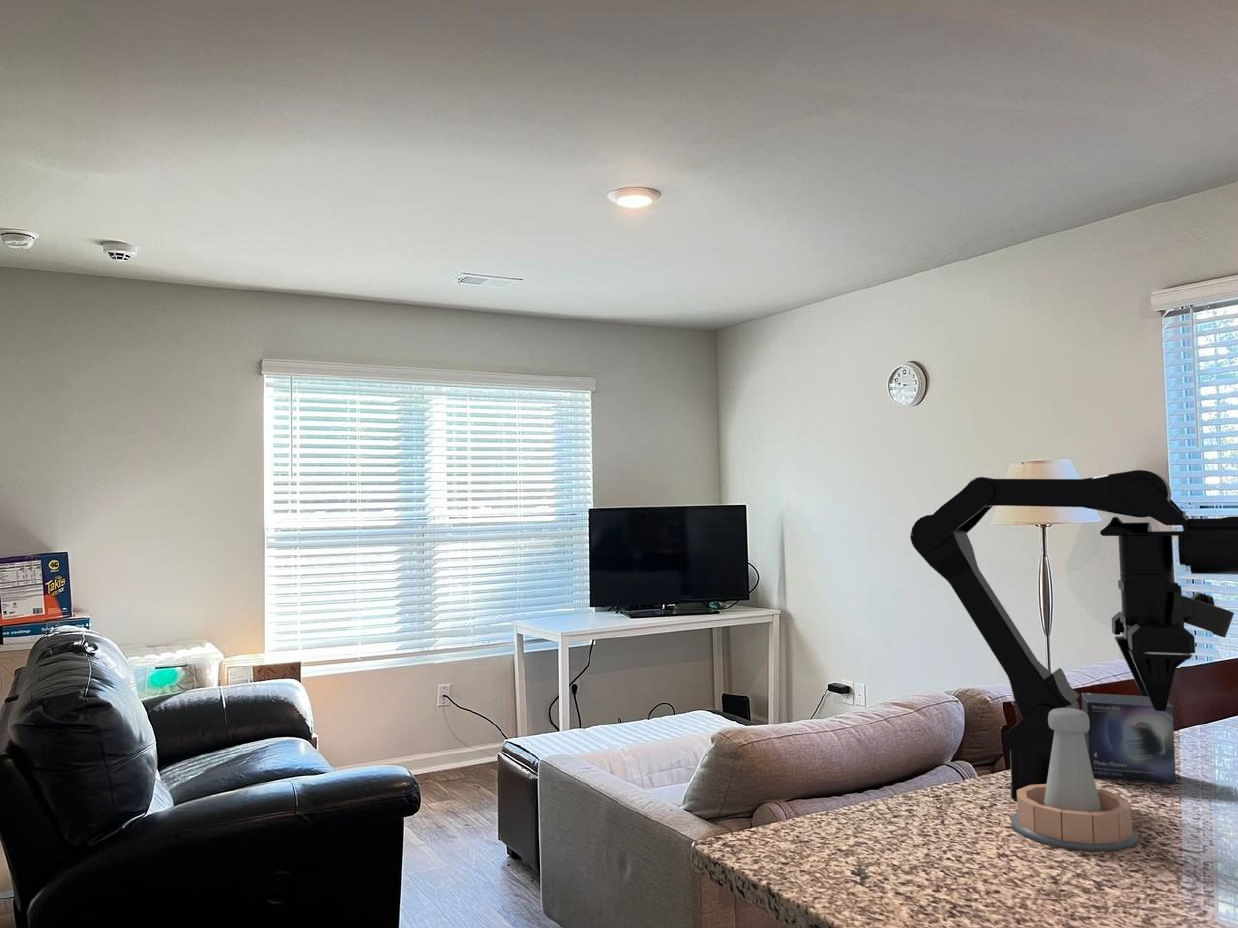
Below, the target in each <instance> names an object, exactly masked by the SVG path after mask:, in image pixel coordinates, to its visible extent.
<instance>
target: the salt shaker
mask: <svg viewBox="0 0 1238 928" xmlns="http://www.w3.org/2000/svg"><path fill="white" fill-rule="evenodd" d="M1089 723H1090V721H1089V717H1088V715H1087V714H1086V713H1085V712H1084V711H1082V709H1080V710H1079V709H1074V708H1056V709H1052V710H1051V711H1050V712H1049V716H1048V724H1049V727H1050V728H1051V729H1053V730H1054V738H1053V744H1052V751H1051V758H1050V765H1049V771H1048V778H1047V785H1046V792H1045V798H1044V803H1045V806H1049V807H1053V808H1057V809H1061V810H1070V811H1081V812H1100V801H1099V797H1098V793H1097V789H1098V788H1097V786H1096V782H1095V777H1094V776H1093V772H1092V768H1091V763H1090V759H1089V754H1088V750H1087V745H1086V741H1085V736H1084V733H1085V732H1088V731H1089Z"/></svg>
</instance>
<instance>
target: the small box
mask: <svg viewBox="0 0 1238 928" xmlns="http://www.w3.org/2000/svg"><path fill="white" fill-rule="evenodd" d="M1080 695H1081V710H1082V711H1084V712H1085V713H1086V714H1087V715H1088V717H1089V721H1090V723H1089V731H1088V732H1085V733H1084V736H1085V741H1086V745H1087V750H1088V754H1089V759H1090V763H1091V768H1092V772H1093V776H1094V778H1098V779H1099V778H1100V779H1110V780H1111V779H1112V780H1121V781H1122V780H1123V781H1124V780H1125V781H1135V782H1145V783H1146V782H1148V783H1158V784H1169V785H1170V784H1171V785H1176V784H1177V779H1176V778H1177V777H1176V757H1175V756H1176V754H1175V753H1176V751H1175V731H1174V730H1175V729H1174V707H1173V705H1172V704H1171V703H1170V702H1169V701H1168V703H1167V708H1166V711H1156V710H1155V709H1154V707H1153V705H1152V703H1151V701H1150V698H1149V697H1147V696H1142V695H1131V694H1130V695H1129V694H1111V693H1110V694H1109V693H1094V692H1093V693H1092V692H1081V694H1080Z"/></svg>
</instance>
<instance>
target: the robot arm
mask: <svg viewBox="0 0 1238 928" xmlns="http://www.w3.org/2000/svg"><path fill="white" fill-rule="evenodd" d="M995 506H996V507H997V506H1004V507H1005V506H1008V507H1010V506H1011V507H1051V508H1053V507H1056V508H1059V507H1060V508H1063V507H1064V508H1085V509H1091V510H1096V511H1101V512H1106V513H1110V514H1111V513H1112V514H1117V515H1123V516H1128V517H1133V518H1140V519H1141V518H1151V519H1153V520H1155V521H1157V522H1159V523H1161V524H1163V525H1165V526H1181V527H1182V530H1152V526H1151V522H1149V521H1148V522H1145V521H1144V522H1124V521H1122V519H1120V518H1119V517H1118V516H1113V517H1112V518H1111V521H1110V522H1109V523H1108V524H1107V525H1106V526H1105V527H1104V528H1103V529H1101V530H1100V531H1099V534H1100V535H1101V536H1103V537H1117V539H1118V552H1119V553H1118V555H1119V557H1118V558H1119V570H1120V571H1119V578H1120V579H1119V580H1118V581H1117V586H1118V589H1120V598H1121V611H1118V612H1117V613H1116V614H1115V615H1114V616H1113V617H1111V632H1112V634H1114V635H1115V636H1114V641H1115V642H1116V645H1118V648H1119V649H1120V652H1121V654H1122V656H1123V658H1124V660H1125V663H1126V665H1127V667H1128V668H1129V670H1130V673H1131V675H1132V677H1133V679H1134V681H1135V683H1136V685H1137V688H1138V690H1139V692H1140V695H1141V696H1147V697H1149V698H1150V701H1151V703H1152V705H1153V707H1154V709H1155V710H1156V711H1166V708H1167V703H1168V702H1169V700H1170V698H1169V697H1170V694H1171V689H1172V686H1173V682H1174V677H1175V673H1176V669H1177V668H1178V667H1179V666H1180V665H1182V664H1183V663H1184V662H1186V661H1187V660H1190V659H1191V658H1192V657H1193V654H1195V653H1196V642H1195V636H1194V635H1193V634H1192V633H1191V632H1190V631H1188V629H1186V628H1185V624H1188V625H1191V626H1193V627H1197V628H1200V629H1202V630H1205V631H1208V632H1211V633H1212V634H1213V635H1215V636H1218V637H1221V638H1226V637H1227V634H1228V633H1229V632H1228V631H1229V628H1230V626H1231V623H1232V620H1233V618H1234V615H1235V612H1234V611H1231V610H1229V609H1226V608H1223V607H1220V606H1217V605H1216V604H1215V600H1214V597H1213V596H1212V595H1211V596H1210V595H1208V594H1204V593H1201V592H1199V591H1196V592H1195V593H1194V594H1193V595H1192V596H1190V597H1189V596H1185V595H1182V586H1181V585H1179V583H1178V582H1176V581H1175V568H1174V567H1175V565H1174V548H1173V546H1174V545H1173V537H1175V536H1176V537H1177V540H1178V541H1177V542H1178V544H1177V545H1178V559H1179V560H1178V561H1179V565H1180V566H1185V567H1190V573H1191V574H1192V575H1228V576H1229V575H1230V576H1231V575H1233V576H1234V575H1237V576H1238V515H1237V516H1234V515H1233V516H1225V517H1219V518H1217V517H1216V518H1215V517H1214V518H1213V517H1212V518H1205V517H1204V518H1189V517H1188V515H1187V514H1186V513H1187V512H1186V510H1182V509H1181V508H1180V507H1179V506H1178V505H1177V504H1176V503H1175V502H1174V501H1173V500H1172V490H1171V487H1170V485H1169V483H1168V482H1167V480H1166V479H1165V478H1163V477H1162V476H1161V475H1160V474H1158V473H1155V472H1153V471H1149V470H1142V469H1134V470H1128V471H1123V472H1117V473H1116V472H1115V473H1110V474H1105V475H1099V476H1098V475H1097V476H1093V477H1087V478H1067V479H1066V478H992V477H984V476H978V477H974V478H972V479H971V480H970V481H969V482H968V483H967V485H966V486H965V487H964V488H963V489H961V490H960V491H959V492H958V493H957V494H955V495H954V496H953V497H952V498H950V499H949V500H948V501H945V503H944V504H942V505H941V506H940V507H939V508H938V509H937V510H936V511H935V512H934V513H933V514H927V515H924V516H921V517H920V518H918V520H916V521H915V522H914V524H913V526H912V527H911V531H910V532H911V533H910V535H909V538H910V543H911V544H912V546H913V548H914V549H915V551H917V553H918V554H919V555H920V556H921V558H922V559H923V560H925V562H926V563H927V564H928V566H929V567H931V568H932V570H934V571H935V572H937V574H939V575H940V577H942V578H944V580H946V581H947V583H948V584H949V585H950V587H951V588H952V590H953V591H954V593H955V594H956V596H957V597H958V599H959V601H960V602H961V604H962V606H963V607H964V609H965V610H966V612H967V613H968V615H969V617H970V619H971V621H973V623H974V625H975V627H976V628H977V629H978V631H979V633H980V635H981V636H982V638H983V639H984V641H985V642H986V644H987V646H988V647H989V648H990V650H991V652H992V653H993V655H994V656H995V658H996V660H997V662H998V663H999V665H1000V666H1001V668H1002V670H1003V671H1004V672H1005V675H1006V676H1007V678H1008V680H1009V685H1010V688H1011V689H1010V690H1011V692H1012V695H1013V700H1014V704H1015V705H1016V707H1017V710H1018V713H1019V715H1020V717H1021V719H1020V720H1019V721H1017V722H1016V723H1015V725H1013V726H1012V727H1011V728H1010V729H1009V730H1007V731H1006V733H1004V738H1005V740H1006V743H1007V746H1008V748H1009V758H1010V760H1009V761H1010V783H1009V787H1010V788H1009V789H1010V798H1011V799H1013V800H1017V790H1018V789H1021V788H1023V787H1026V786H1028V785H1037V784H1047V778H1048V771H1049V765H1050V758H1051V751H1052V744H1053V738H1054V730H1053V729H1051V728H1050V727H1049V724H1048V716H1049V712H1050V711H1051V710H1052V709H1056V708H1074V709H1079V710H1081V706H1080V705H1079V702H1078V698H1079V697H1080V695H1081V694H1079V693H1078V692H1077V691H1076V690H1074V688H1073V687H1072V686H1071V685H1070V683H1069V681H1068V679H1067V677H1066V674H1065V672H1064V671H1063V669H1062V668H1061V667H1059V668H1057V669H1055V671H1053V672H1052V671H1050V670H1049V669H1048V668H1046V667H1045V666H1044V665H1043V664H1042V663H1041V662H1040V660H1038V658H1037V657H1036V656H1035V654H1034V653H1033V651H1032V650H1031V648H1030V646H1029V645H1028V643H1027V641H1026V640H1025V639H1024V637H1023V636H1022V634H1021V632H1020V630H1019V629H1018V628H1017V626H1016V625H1015V622H1013V620H1012V618H1011V617H1010V615H1009V614H1008V612H1007V611H1006V609H1005V607H1004V606H1003V605H1002V603H1001V601H1000V599H998V596H997V595H996V593H995V592H994V590H993V588H992V587H991V586H990V584H989V582H988V581H987V580H986V578H985V577H984V574H982V571H981V570H980V568H979V567H978V562H977V560H976V554H975V552H974V551H975V550H974V548H973V545H972V542H971V540H970V538H969V536H968V535H969V534H968V533H969V532H970V531H971V530H972V529H973V528H974V527H976V526H977V525H978V523H979V522H980V521H981V520H982V518H983V517H985V515H986V514H987V513H988V512H989V511H990V510H991V509H992V508H993V507H995ZM1120 635H1121V636H1120Z"/></svg>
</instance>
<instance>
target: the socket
mask: <svg viewBox="0 0 1238 928" xmlns="http://www.w3.org/2000/svg"><path fill="white" fill-rule="evenodd" d="M1046 785H1047V784H1037V785H1028V786H1026V787H1023V788H1021V789H1018V790H1017V799H1016V804H1017V805H1016V807H1017V808H1016V809H1017V812H1015V813H1014V814H1012V816H1011V818H1010V822H1011V824H1010V825H1011V828H1012V829H1013V830H1014V831H1015V833H1018V834H1019V835H1020V836H1023V837H1025V838H1026V839H1029V840H1032V841H1035V842H1037V843H1040V844H1043V845H1048V846H1052V847H1055V848H1061V849H1068V850H1074V851H1084V852H1085V851H1086V852H1115V851H1116V852H1117V851H1122V850H1127V849H1131V848H1133V847H1135V846H1137V845H1138V844H1139V841H1140V833H1139V831H1138V829H1137V828H1136V827H1134V826H1133V820H1132V819H1133V818H1132V806H1131V804H1130V802H1129V800H1128V799H1127V798H1125V797H1123V796H1120V795H1118V794H1115V793H1113V792H1111V791H1108V790H1103V789H1100V788H1099V789H1098V788H1096V789H1097V793H1098V797H1099V801H1100V812H1081V811H1070V810H1061V809H1057V808H1053V807H1049V806H1045V803H1044V798H1045V792H1046Z"/></svg>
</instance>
